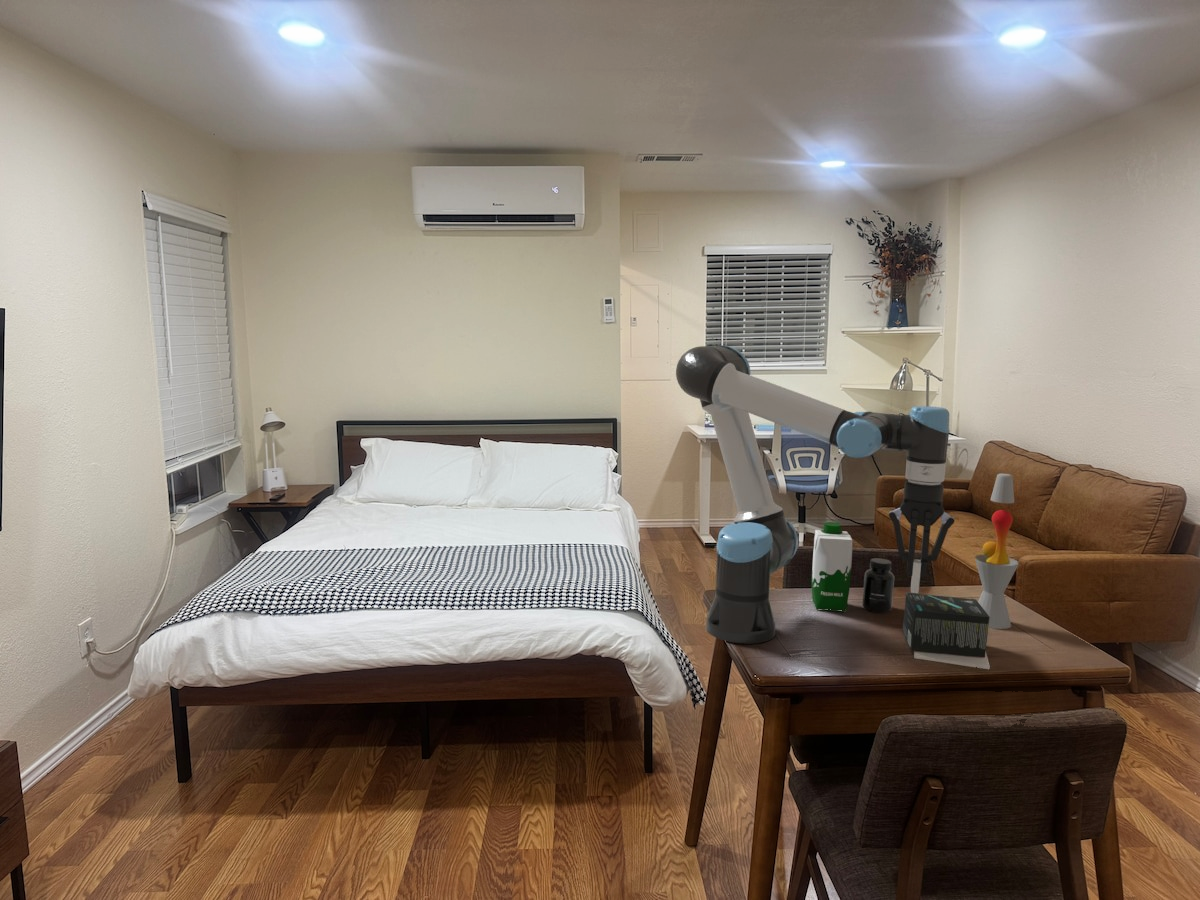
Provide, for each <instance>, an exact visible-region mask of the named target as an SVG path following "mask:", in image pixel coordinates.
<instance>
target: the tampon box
mask: <svg viewBox="0 0 1200 900" xmlns="http://www.w3.org/2000/svg"><path fill="white" fill-rule="evenodd" d="M904 601H905V603H904V613H903V622H902V634H903V636H904V639H905V641H906V643H907V644H908V647H909V650H910V651H911V652H914V651H921V652H932V653H943V654H953V655H962V656H972V657H985V653H986V654H987V652H986V651H987V645H988V644H987V643H988V634H989V628H988V625H989V619H990V616H989V615H988V614H987V613H986V611H985V610H984V609H983V608H982V606H981V605H980V604H979V603H978V600H977V599H975V598H965V597H954V596H946V595H935V594H926V593H925V594H924V593H911V592H906V593H905V600H904Z"/></svg>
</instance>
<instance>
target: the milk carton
mask: <svg viewBox="0 0 1200 900" xmlns="http://www.w3.org/2000/svg"><path fill="white" fill-rule="evenodd" d="M812 552H813V553H812V564H811V565H812V570H811V598H812V599H813V600H812V602H814V603H813V605H814V604H815V605H814V607H815V610H816V609H828V610H830V609H831V610H842V611H846V612H847V609H848V608H847V607H848V602H849V593H850V588H851V587H850V586H851V576H852V575H851V574H852V573H851V572H852V563H853V562H852V560H853V539H852V536H851V535H850V534H849V533H848V531H842V524H840V523H838V522H833V521H830V522H829V521H827V522H824V523H823V529H815V530H814V538H813V551H812ZM842 611H841V612H842Z"/></svg>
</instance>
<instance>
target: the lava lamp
mask: <svg viewBox="0 0 1200 900" xmlns="http://www.w3.org/2000/svg"><path fill="white" fill-rule="evenodd" d="M1014 490H1015V489H1014V478H1013V475H1012V474H1009V473H998V474H997V475H996V478H995V482H994V485H993V490H992V493H991V497H990V501H991V502H994V503H1000V504H1015V493H1014ZM1013 520H1014V519H1013V515H1012V514H1011V512H1010V511H1008V510H1005V509H999V510H995V512H993V514H992V515H991V522H992V525H993V529H994V530H995V531H994V532H995V535H996V536H995V537H996V542H995V541H990V540H989V541H987V542H985V543H984V544H983V545H982V552H983V554H978V555H975V556H974V559H975V565H976V567H977V571H978V575H979V578H980V583H981V584H982V585H981V586H982V592H981V594H980V596H979V598H978V600H977V601H978V603H979V604H980V605H981V606H982V608H983V609H984V610H985V611H986V613H987V614H988V615H989V616H990V619H989V625H988V629H992V630H993V629H994V630H1007V629H1010V628H1011V627H1012V624H1011V623H1012V622H1011V620H1010V615H1009V610H1008V606H1007V602H1006V598H1005V592H1006V589H1007V587H1008V586H1009V583H1010V581H1011V579H1012V578H1013V576H1014V574H1015V572H1016V570H1017V569H1018V566H1019V561H1017V560H1016V559H1013V558H1012V557H1009V556H1008V552H1007V537H1008V535H1009V534H1008V533H1009V531H1010V528H1011V526H1012V525H1013V522H1014V521H1013Z"/></svg>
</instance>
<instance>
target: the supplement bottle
mask: <svg viewBox="0 0 1200 900" xmlns="http://www.w3.org/2000/svg"><path fill="white" fill-rule="evenodd" d="M891 570H892V561H891V560H889V559H885V558H877V557H875V558H871V559H870V563H869V569H867V570H866V571H865V572H864V579H863V591H862V601H861V606H862V607H863V609H865V610H866V609H867V611H869V610H870V612H872V611H873V613H877V612H881V613H880V614H885V613H884V612H886V613H889V612H890V611H892V608H893V599H894V597H893V596H894V589H895V588H894V587H895V574H893V572H892V571H891Z"/></svg>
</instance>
